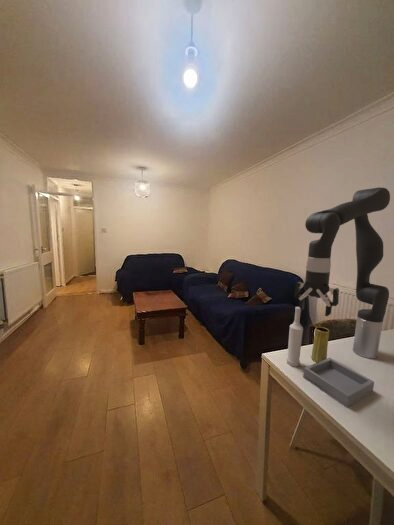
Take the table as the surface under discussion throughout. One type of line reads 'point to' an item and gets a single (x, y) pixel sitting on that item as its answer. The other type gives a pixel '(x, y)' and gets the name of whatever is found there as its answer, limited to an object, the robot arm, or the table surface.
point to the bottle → (295, 340)
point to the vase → (320, 344)
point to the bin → (338, 381)
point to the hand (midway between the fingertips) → (314, 312)
